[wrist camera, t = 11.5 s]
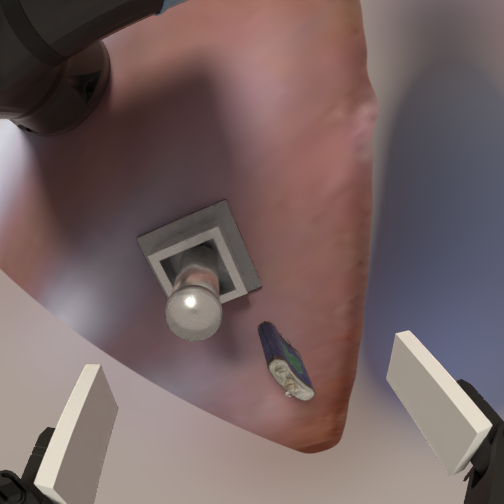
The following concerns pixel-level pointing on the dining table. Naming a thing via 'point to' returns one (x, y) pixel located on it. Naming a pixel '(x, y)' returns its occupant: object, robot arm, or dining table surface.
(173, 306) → the silver canister
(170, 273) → the duct collar
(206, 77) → the dining table surface
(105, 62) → the robot arm
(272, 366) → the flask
